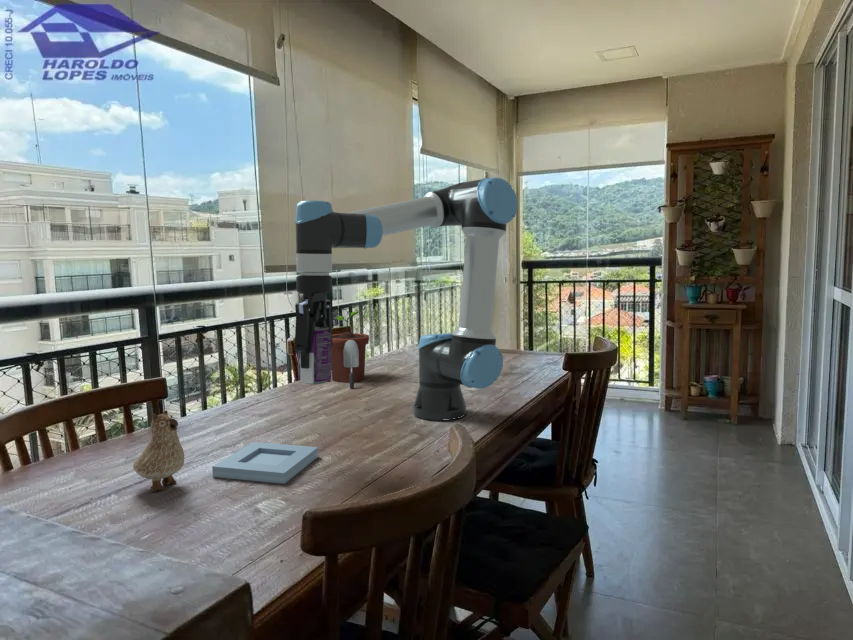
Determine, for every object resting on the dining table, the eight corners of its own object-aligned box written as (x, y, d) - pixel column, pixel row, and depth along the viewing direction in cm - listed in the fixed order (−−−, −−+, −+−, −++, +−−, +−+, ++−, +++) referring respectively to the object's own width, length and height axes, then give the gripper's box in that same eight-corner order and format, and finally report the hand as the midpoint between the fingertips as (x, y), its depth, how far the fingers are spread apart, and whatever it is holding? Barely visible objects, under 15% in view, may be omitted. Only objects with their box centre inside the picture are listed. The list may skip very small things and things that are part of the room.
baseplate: (318, 456, 129) (318, 447, 129) (284, 483, 114) (284, 473, 114) (253, 451, 133) (253, 441, 133) (212, 476, 118) (212, 466, 117)
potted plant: (381, 377, 215) (380, 310, 213) (352, 389, 195) (351, 315, 193) (339, 373, 222) (338, 308, 219) (308, 385, 202) (306, 314, 199)
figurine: (167, 498, 107) (163, 419, 106) (121, 494, 109) (116, 417, 107) (195, 479, 116) (192, 407, 115) (152, 476, 118) (148, 404, 116)
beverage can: (300, 378, 129) (299, 325, 128) (332, 378, 130) (332, 325, 129) (296, 385, 122) (295, 329, 121) (330, 385, 123) (329, 329, 122)
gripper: (317, 273, 135) (317, 370, 137) (275, 274, 115) (277, 387, 117) (347, 273, 133) (347, 372, 135) (310, 275, 113) (311, 390, 116)
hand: (314, 379), depth 126 cm, fingers closed on beverage can, 7 cm apart
